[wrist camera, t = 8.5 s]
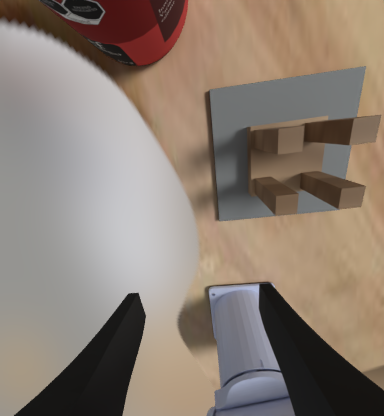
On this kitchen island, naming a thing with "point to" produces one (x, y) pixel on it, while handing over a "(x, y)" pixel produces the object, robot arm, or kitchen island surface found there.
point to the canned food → (125, 26)
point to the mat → (274, 113)
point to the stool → (303, 161)
